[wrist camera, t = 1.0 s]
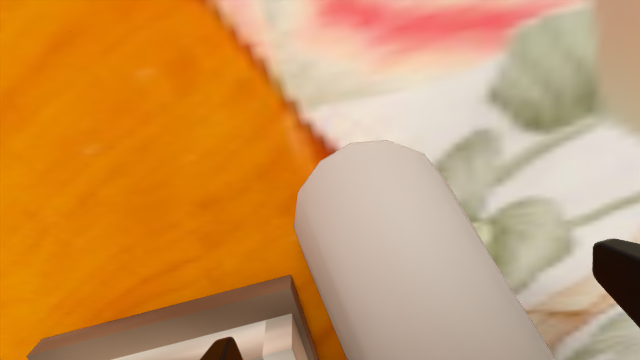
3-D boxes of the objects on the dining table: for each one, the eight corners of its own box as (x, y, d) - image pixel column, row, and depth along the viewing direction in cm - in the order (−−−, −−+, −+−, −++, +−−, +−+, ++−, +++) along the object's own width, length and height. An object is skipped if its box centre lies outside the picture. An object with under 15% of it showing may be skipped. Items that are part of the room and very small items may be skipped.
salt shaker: (300, 259, 16) (323, 924, 4) (286, 135, 14) (245, 657, 2) (425, 245, 16) (839, 826, 4) (429, 122, 14) (1248, 502, 2)
